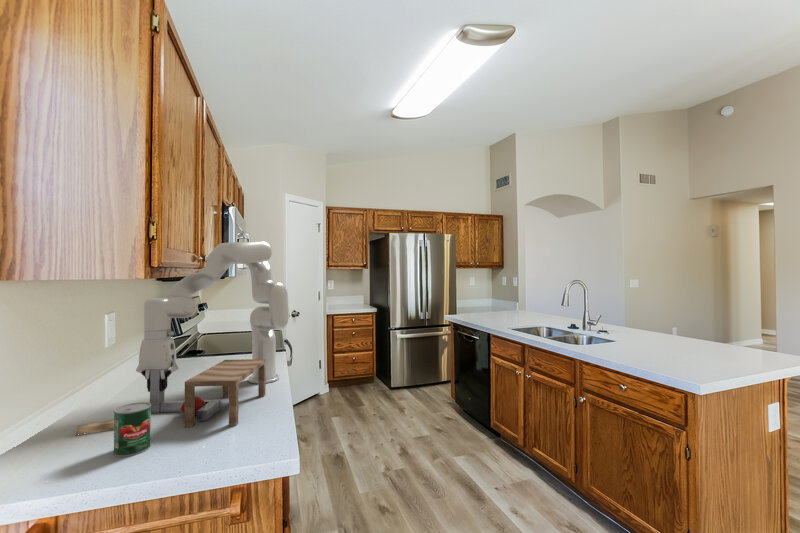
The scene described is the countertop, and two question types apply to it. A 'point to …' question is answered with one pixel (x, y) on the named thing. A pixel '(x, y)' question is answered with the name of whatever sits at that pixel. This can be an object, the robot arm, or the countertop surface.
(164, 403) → the grey angled piece
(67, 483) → the countertop surface
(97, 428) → the wooden bar
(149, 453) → the countertop surface
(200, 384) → the shelf
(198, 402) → the onion
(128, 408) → the canned tomato
